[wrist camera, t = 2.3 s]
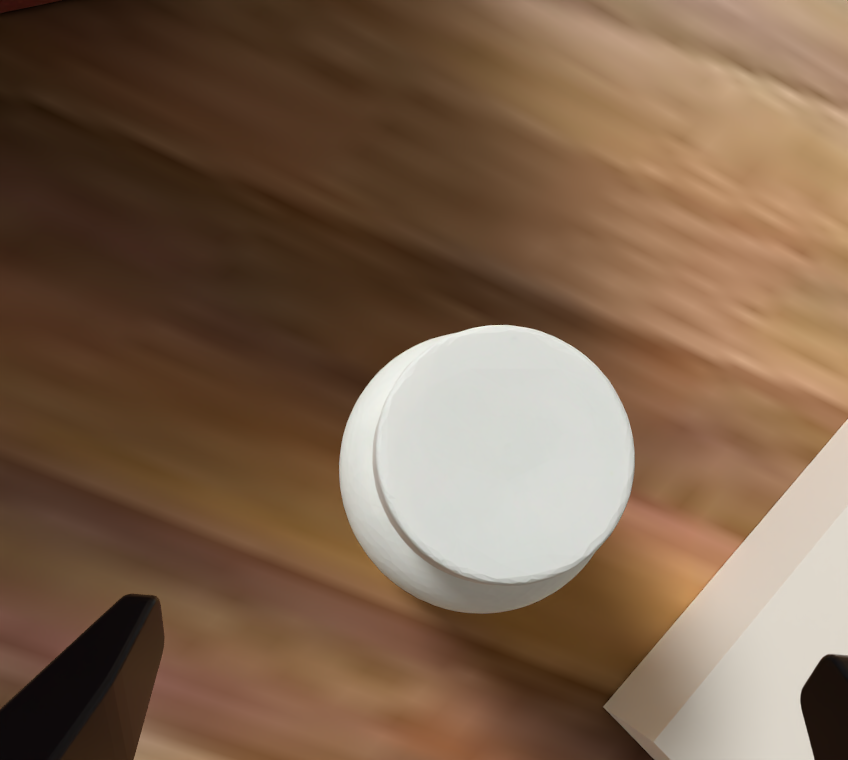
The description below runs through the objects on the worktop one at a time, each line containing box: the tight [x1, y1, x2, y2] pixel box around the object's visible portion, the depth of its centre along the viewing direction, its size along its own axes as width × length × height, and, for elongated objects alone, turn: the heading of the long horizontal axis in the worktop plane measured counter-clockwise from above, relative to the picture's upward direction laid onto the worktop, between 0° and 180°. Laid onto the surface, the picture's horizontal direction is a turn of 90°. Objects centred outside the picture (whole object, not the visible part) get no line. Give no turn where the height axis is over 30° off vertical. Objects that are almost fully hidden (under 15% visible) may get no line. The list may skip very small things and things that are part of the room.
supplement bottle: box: [339, 325, 635, 614], centre depth 15 cm, size 5×5×10 cm
